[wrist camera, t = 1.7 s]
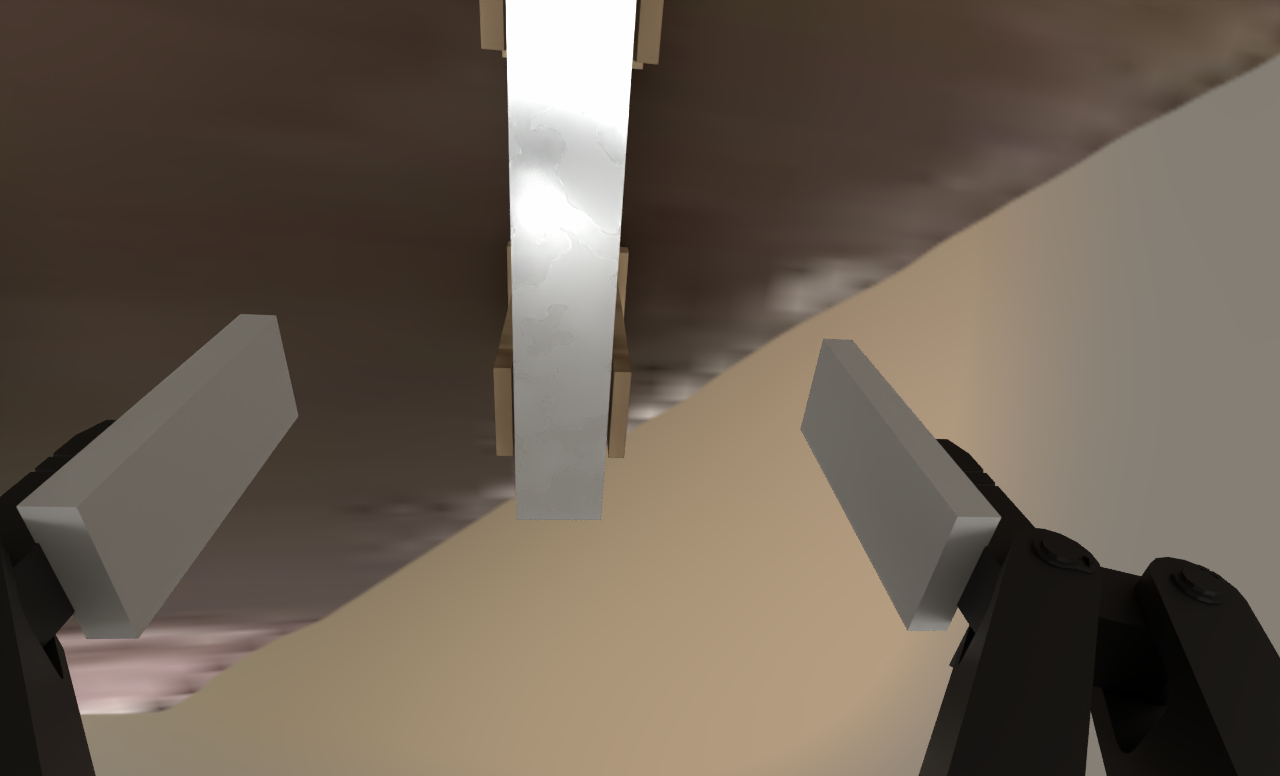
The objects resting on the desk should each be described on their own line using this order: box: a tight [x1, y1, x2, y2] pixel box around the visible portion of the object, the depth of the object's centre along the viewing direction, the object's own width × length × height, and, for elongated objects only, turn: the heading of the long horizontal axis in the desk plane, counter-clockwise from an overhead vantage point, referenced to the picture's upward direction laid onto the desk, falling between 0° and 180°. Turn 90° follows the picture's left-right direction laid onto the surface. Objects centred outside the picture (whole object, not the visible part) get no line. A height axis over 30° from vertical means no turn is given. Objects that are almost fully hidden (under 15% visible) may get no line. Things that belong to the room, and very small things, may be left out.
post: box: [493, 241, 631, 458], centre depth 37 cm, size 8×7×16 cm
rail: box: [506, 0, 636, 520], centre depth 26 cm, size 4×26×5 cm, turn 175°
